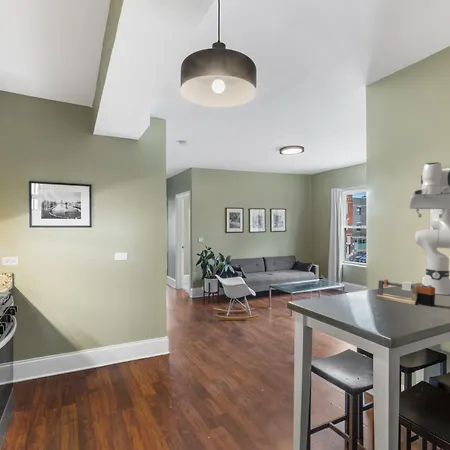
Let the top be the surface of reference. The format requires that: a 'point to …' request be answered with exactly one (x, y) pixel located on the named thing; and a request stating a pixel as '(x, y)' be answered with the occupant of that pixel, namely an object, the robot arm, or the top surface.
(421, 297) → the battery
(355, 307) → the top surface
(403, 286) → the marker sleeve
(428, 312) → the top surface
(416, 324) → the top surface
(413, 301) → the rod stand
